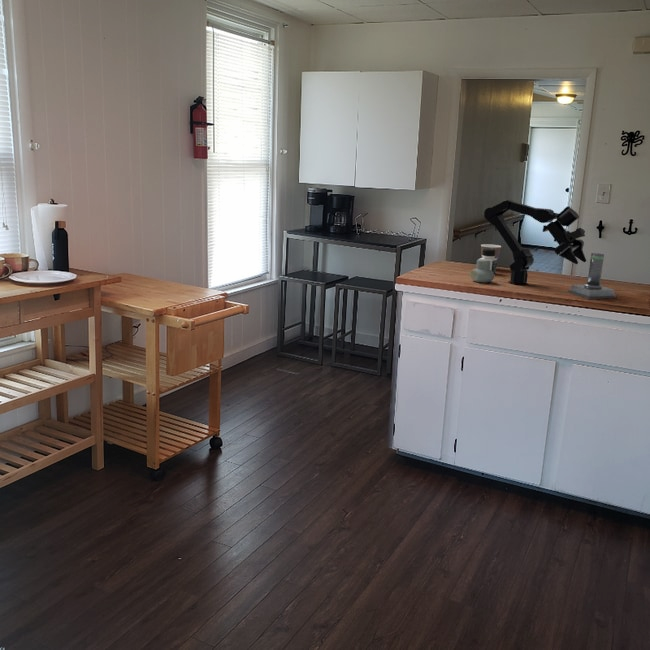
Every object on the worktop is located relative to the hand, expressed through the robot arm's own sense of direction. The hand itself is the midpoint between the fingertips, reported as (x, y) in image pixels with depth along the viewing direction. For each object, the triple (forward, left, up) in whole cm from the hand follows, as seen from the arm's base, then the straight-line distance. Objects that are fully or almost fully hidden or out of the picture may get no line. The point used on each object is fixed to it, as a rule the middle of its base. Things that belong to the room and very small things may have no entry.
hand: (581, 262), depth 284 cm
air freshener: (-30, +29, -13) cm, 43 cm away
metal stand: (+3, -5, -13) cm, 15 cm away
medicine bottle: (-15, +51, -13) cm, 55 cm away
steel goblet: (+3, -5, -10) cm, 11 cm away
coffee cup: (-7, +63, -13) cm, 65 cm away
